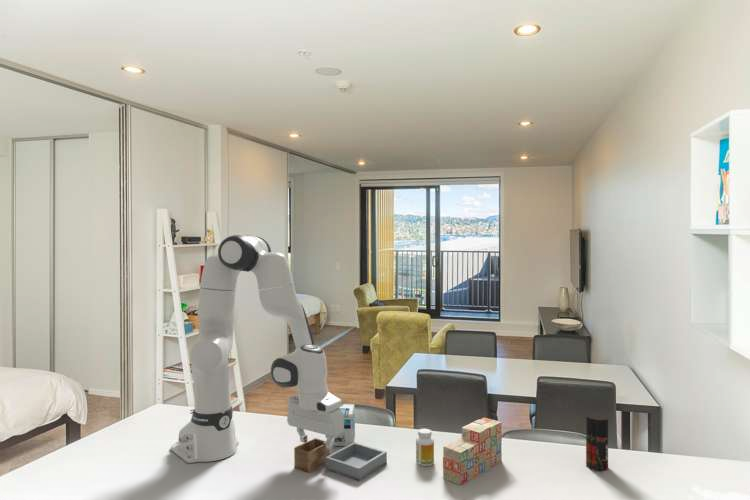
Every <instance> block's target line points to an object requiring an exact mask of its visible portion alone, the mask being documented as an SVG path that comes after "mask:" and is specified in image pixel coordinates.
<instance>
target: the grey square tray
mask: <svg viewBox="0 0 750 500" xmlns="http://www.w3.org/2000/svg"><path fill="white" fill-rule="evenodd" d="M387 453H388V452H387V451H384V450H382V449H378V448H374V447H372V446H368V445H364V444H361V443H358V442H355V441H354V443H352V444H350V445H348V446H343V447H342V448H340V449H338V450H336V451H334V452H333V453H331V454H330V455H329V456H327V457H325V458H326V464H325V470H327V471H330V472H333V473H336V474H338V475H341V476H343V477H347V478H350V479H353V480H355V481H358V482H360V481H362V480H364V479H365V478H366V477H368V476H369V475H371V474H372V473H374V472H376V471H377V470H379V469H380V468H382V467H383V466H385V465H387V462H388V458H387V457H388V454H387Z"/></svg>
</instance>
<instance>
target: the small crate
mask: <svg viewBox="0 0 750 500" xmlns="http://www.w3.org/2000/svg"><path fill="white" fill-rule="evenodd" d="M324 442H326V440H323V439H320V438H316V437H314V438H312V439H310V440H307V442H305V443H304V442H302V444H299V445H297V446H295V447H294V448H293V449H294V450H293V451H294V455H293V456H294V457H293V458H294V464H293V465H294V469H296V470H297V469H298V470H299V471H303V472H305V473H308V474H311V473H312V472H314V471H315V470H317V469H320V468H321V467H323V466H326V458H325V457H327V456H329V455H331V454H330V453H331V452H330V449H331V448H329V449H325V448H324V447H323V446H324V445H323V443H324Z"/></svg>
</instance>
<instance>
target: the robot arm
mask: <svg viewBox="0 0 750 500" xmlns="http://www.w3.org/2000/svg"><path fill="white" fill-rule="evenodd" d="M271 249H272V248H271V245H270V244H269V243H268V242H267V240H265V239H264V238H263V237H260V236H255V235H250V234H244V235H243V234H232V235H230V236H227V237H226V238H224V239H223V240H222V241H221V242H220V243H219V246H218V249H217V253H213V254H211V255H210V256H208V257H206V260H205V262H204V266H203V269H202V273H201V278H200V286H199V293H198V294H199V295H198V305H197V314H198V315H197V316H198V335H197V339H195V340H194V342H193V343H192V344H191V346H190V350H189V360H190V367H191V373H192V374H191V375H192V379H193V386H194V387H193V389H194V394H193V395H194V409H191V410H189V414H190V415H191V414H192V415H191V418H190V420H189V422H188V423H186V424H185V425H184V426H183V427H182V428H180V430H179V431H178V432H179V433H178V441H176V442H174V443H173V444H172V445H171V446H170V451H172V452H173V453H175V454H176V455H177V456H178V457H179V458H181V460H183V461H184V462H186V463H187V464H193V463H198V462H199V463H201V462H203V463H205V462H206V463H207V462H214V461H219V460H223V459H227V458H228V457H231V456H233V455H234V454H235V453H236V452H237V450H238V449H237V446H238V444H239V439H237V437H236V428H235V421H234V419H233V413H234V412H233V411H234V410H233V406H232V401H231V400H232V399H231V397H232V394H231V391H232V389H231V388H232V387H231V386H232V385H231V378H230V370H229V355H230V353H231V352H232V349H233V344H234V343H233V341H234V314H235V306H236V305H235V304H236V303H235V302H236V295H237V294H236V293H237V284H238V283H237V282H238V276H239V274H240V273H241V272H247V273H249V272H251V273H253V274H254V276H255V277H256V281H257V290H258V295H259V296H258V297H259V301H260V304H261V306H262V309H263V310H265V312H266V313H268V314H269V315H271V316H274V317H277V318H279V319H282V320H284V321H285V322H286V323H287V324H288V325H289V328H290V331H291V336H292V339H293V342H294V346H295V350H294V351H293V352H290V353H287V354H284V355H281V356H279V357H277V358H276V359H274V360H273V362H272V364H271V365H270V366H271V367H270V375H271V379H272V381H273V382H274V384H275V385H276V386H278V387H280V388H283V389H285V388H293V387H297V389H298V395H293V394H292V395H291V396H289V398H288V406H287V414H286V415H287V416H286V417H287V419H286V420H287V421H286V422H287V424H288V426H290V427H294V428H296V432H297V434H298V436H299V441H300V443H305V442H308V441H309V440H308V434H307V435H306V433H305V431H310V432H314V433H316V434H321V435H324V436H325V438H326V440H325V441H326V442H324V443H323V445H324V446H323V447H324V448H325V449H329V448H330V449H331V448H332V441H333V440H334V437H337V436H339V435H341V434H342V433H343V431H344V420H343V413H342V410H341V409H340V408H339V407H341V406H342V404H343V401H342V399H341V398H339V397H337V396H335V395H334V394H333V393H331V392H330V391H329V388H328V384H327V377H328V364H327V357H326V352H325V351H324V349H323V348H322V347H321V346H319V345H316V344H315V343H314V339H313V334H312V331H311V327H310V324H309V321H308V315H307V313H306V311H305V308H304V306H303V304H302V303H301V302H300V300H299V298H298V296H297V292H296V288H295V282H294V277H293V274H292V270H291V267H290V264H289V261H288V258H287V257H286V256H285V254H283V253H281V252H277V251H272V250H271Z"/></svg>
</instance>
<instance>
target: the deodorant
mask: <svg viewBox="0 0 750 500" xmlns="http://www.w3.org/2000/svg"><path fill="white" fill-rule="evenodd" d="M585 431H586V432H585V445H586V446H585V463H586V464H585V467H587V468H588V469H589V470H592V471H594V472H606V471H608V470H609V417H608V416H607V415H606V414H602V413H598V412H591V413H589V412H588V413H586V415H585Z"/></svg>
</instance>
